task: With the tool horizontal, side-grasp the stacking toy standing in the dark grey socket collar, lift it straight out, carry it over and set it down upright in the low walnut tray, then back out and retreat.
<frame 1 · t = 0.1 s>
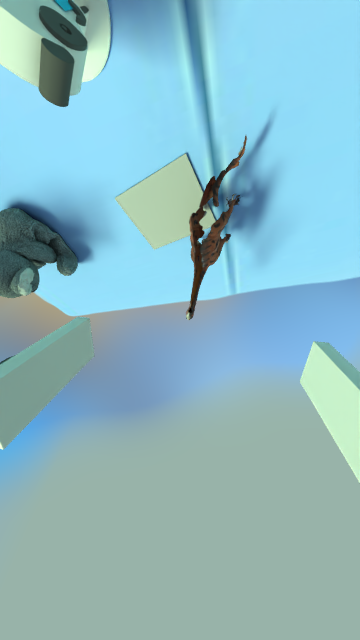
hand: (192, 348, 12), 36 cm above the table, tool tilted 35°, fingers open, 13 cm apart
toy dinosaur: (217, 226, 43), point 1 cm above the table
koala plush: (38, 236, 55), on the table
paper stack: (163, 234, 49), on the table
panda figurine: (65, 10, 24), on the table
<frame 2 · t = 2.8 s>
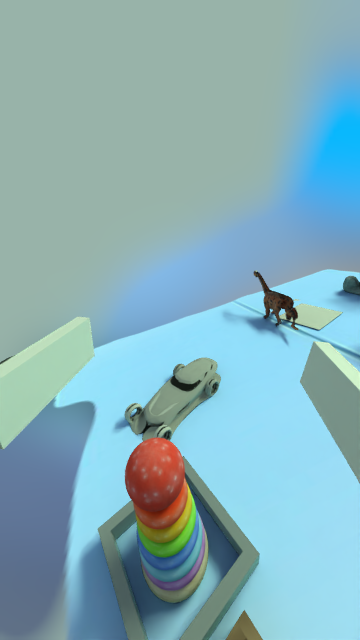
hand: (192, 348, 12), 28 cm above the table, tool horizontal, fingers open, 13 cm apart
toy dinosaur: (274, 319, 74), on the table
paper stack: (301, 310, 79), on the table
stacking toy: (175, 550, 25), resting in socket collar
car model: (181, 399, 47), on the table
socket collar: (175, 549, 25), on the table
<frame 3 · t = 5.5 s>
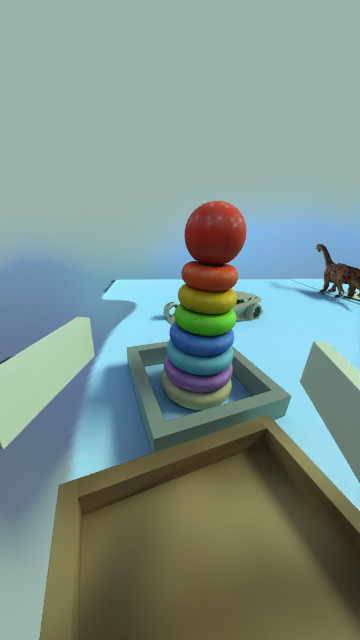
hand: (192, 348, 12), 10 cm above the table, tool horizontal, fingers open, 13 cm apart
toy dinosaur: (332, 295, 67), on the table
stacking toy: (195, 387, 24), resting in socket collar
car model: (219, 317, 46), on the table
socket collar: (195, 386, 24), on the table
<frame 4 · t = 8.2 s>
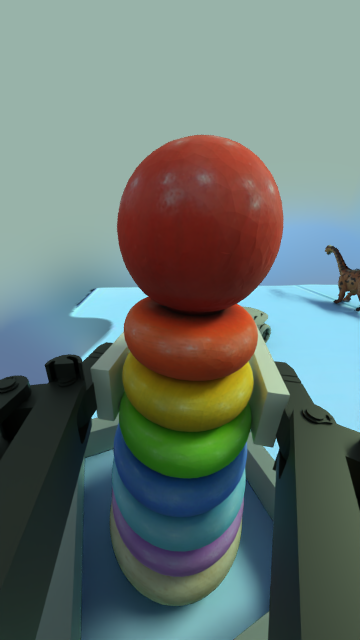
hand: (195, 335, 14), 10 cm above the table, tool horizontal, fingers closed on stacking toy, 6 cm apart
toy dinosaur: (348, 306, 57), on the table
stacking toy: (175, 510, 13), resting in socket collar, touching gripper
car model: (217, 342, 35), on the table
socket collar: (175, 508, 13), on the table
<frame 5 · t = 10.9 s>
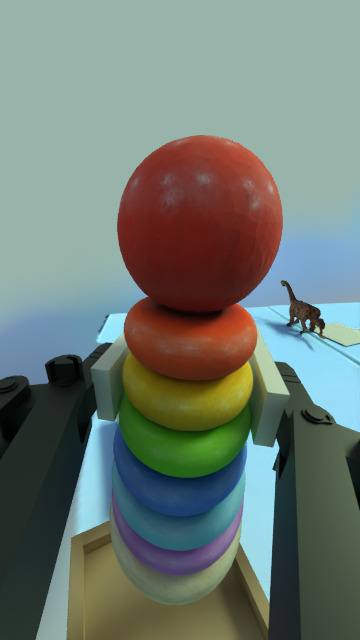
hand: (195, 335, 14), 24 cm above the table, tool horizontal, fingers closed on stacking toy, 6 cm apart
toy dinosaur: (297, 328, 77), on the table
paper stack: (334, 328, 79), on the table
stacking toy: (175, 509, 13), point 14 cm above the table, touching gripper
walnut tray: (170, 623, 18), on the table
when the fingers open (12 cm above the table, at t = 13.5 s): stacking toy drops 1 cm, resting on walnut tray.
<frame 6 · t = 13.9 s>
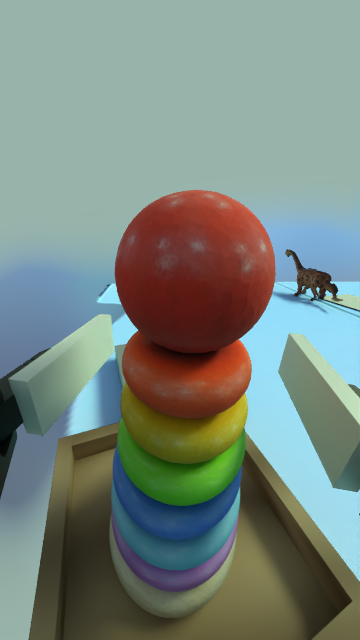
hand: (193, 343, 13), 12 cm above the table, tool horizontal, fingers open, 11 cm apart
toy dinosaur: (305, 297, 73), on the table
paper stack: (346, 299, 75), on the table
stacking toy: (173, 521, 14), point 1 cm above the table, touching walnut tray
walnut tray: (175, 529, 14), on the table
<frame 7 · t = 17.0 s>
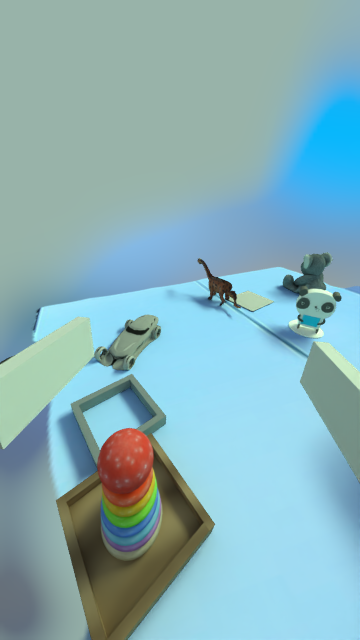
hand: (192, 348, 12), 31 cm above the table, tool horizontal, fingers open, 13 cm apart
toy dinosaur: (216, 300, 92), on the table
koala plush: (304, 291, 107), on the table
paper stack: (246, 295, 98), on the table
panda figurine: (304, 329, 75), on the table
stacking toy: (133, 518, 28), point 1 cm above the table, touching walnut tray
car model: (134, 343, 63), on the table
socket collar: (118, 417, 41), on the table
walnut tray: (135, 520, 29), on the table
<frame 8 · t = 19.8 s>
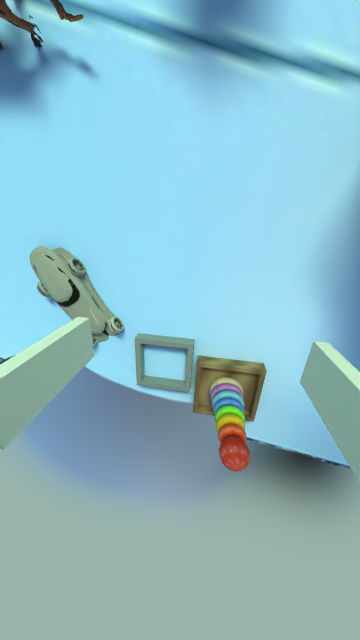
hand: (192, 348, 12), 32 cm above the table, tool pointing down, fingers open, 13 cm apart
toy dinosaur: (4, 22, 32), on the table
stacking toy: (225, 388, 51), point 1 cm above the table, touching walnut tray
car model: (81, 295, 49), on the table
socket collar: (165, 360, 51), on the table
walnut tray: (226, 384, 51), on the table
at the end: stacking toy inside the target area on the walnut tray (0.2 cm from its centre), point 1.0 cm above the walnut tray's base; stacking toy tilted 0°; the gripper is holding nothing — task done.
